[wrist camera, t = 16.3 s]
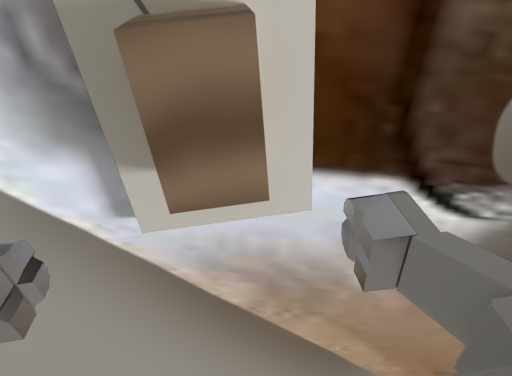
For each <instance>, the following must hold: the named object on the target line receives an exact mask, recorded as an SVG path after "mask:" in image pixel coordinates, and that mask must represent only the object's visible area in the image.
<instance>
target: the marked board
mask: <svg viewBox="0 0 512 376" xmlns="http://www.w3.org/2000/svg"><path fill="white" fill-rule="evenodd" d="M53 2H54V5H55V7H56V10H57V13H58V15H59V18H60V20H61V23H62V26H63V28H64V31H65V33H66V36H67V39H68V41H69V44H70V46H71V49H72V52H73V54H74V57H75V59H76V62H77V65H78V67H79V70H80V72H81V75H82V78H83V80H84V83H85V85H86V88H87V91H88V93H89V96H90V99H91V101H92V104H93V106H94V109H95V112H96V114H97V117H98V119H99V122H100V125H101V127H102V130H103V132H104V135H105V138H106V140H107V143H108V145H109V148H110V151H111V153H112V156H113V158H114V161H115V164H116V166H117V169H118V171H119V174H120V177H121V179H122V182H123V184H124V187H125V190H126V192H127V195H128V198H129V200H130V203H131V205H132V208H133V211H134V213H135V216H136V218H137V221H138V224H139V226H140V229H141V231H142V233H147V232H154V231H161V230H169V229H176V228H183V227H191V226H198V225H205V224H213V223H220V222H228V221H235V220H242V219H250V218H257V217H264V216H272V215H279V214H286V213H294V212H301V211H308V210H312V159H313V108H314V56H315V5H316V0H53ZM236 4H246V5H247V6H248V7H249V8H250V9H251V10H252V11H253V12H254V13H255V19H256V32H257V45H258V58H259V71H260V84H261V97H262V109H263V122H264V135H265V148H266V161H267V174H268V187H269V200H270V201H263V202H255V203H248V204H241V205H233V206H226V207H219V208H211V209H204V210H197V211H189V212H182V213H175V214H170V213H169V209H168V206H167V203H166V200H165V196H164V193H163V190H162V187H161V183H160V180H159V177H158V174H157V171H156V167H155V164H154V161H153V158H152V154H151V151H150V148H149V145H148V141H147V138H146V135H145V132H144V128H143V125H142V122H141V119H140V115H139V112H138V109H137V106H136V102H135V99H134V96H133V93H132V89H131V86H130V83H129V80H128V76H127V73H126V70H125V67H124V63H123V60H122V57H121V54H120V50H119V47H118V44H117V41H116V37H115V34H114V31H113V30H114V29H115V28H117V27H119V26H120V25H122V24H123V23H125V22H127V21H128V20H130V19H132V18H133V17H135V16H136V15H145V14H154V13H164V12H173V11H182V10H191V9H200V8H209V7H218V6H227V5H236Z"/></svg>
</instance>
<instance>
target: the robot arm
mask: <svg viewBox="0 0 512 376" xmlns="http://www.w3.org/2000/svg"><path fill="white" fill-rule="evenodd" d="M343 211H344V213H345V215H346V217H347V219H346V220H345V221H344V222H343V223H342V231H341V234H342V243H343V246H344V250H345V252H346V255H347V257H348V258H349V259H351V260H352V261H354V262H355V266H354V273H355V275H356V277H357V279H358V281H359V283H360V286H361V288H362V290H363V292H368V291H377V290H386V289H395V288H397V291H399V292H400V293H401V294H402V295H404V296H405V297H406V298H407V299H409V300H410V301H411V302H412V303H414V304H415V305H416V306H417V307H418V308H420V309H421V310H422V311H423V312H425V313H426V314H427V315H428V316H430V317H431V318H432V319H433V320H435V321H436V322H437V323H438V324H440V325H441V326H442V327H443V328H445V329H446V330H447V331H448V332H450V333H451V334H452V335H453V336H455V337H456V338H457V339H458V340H460V341H461V342H462V343H463V344H465V347H464V349H463V351H462V352H461V354H460V356H459V358H458V359H457V361H456V364H455V366H454V368H455V370H456V371H457V373H458V374H453V375H446V376H512V262H510V261H508V260H506V259H504V258H502V257H500V256H498V255H496V254H493V253H491V252H489V251H487V250H485V249H483V248H481V247H479V246H476V245H474V244H472V243H470V242H468V241H466V240H464V239H462V238H460V237H457V236H455V235H453V234H451V233H449V232H440V231H439V230H438V228H437V227H436V226H435V225H434V224H433V222H432V221H431V220H430V219H429V218H428V216H427V215H426V214H425V213H424V212H423V210H422V209H421V208H420V207H419V206H418V204H417V203H416V202H415V201H414V200H413V199H412V197H411V196H410V195H409V194H408V193H407V192H405V191H396V192H389V193H384V194H378V195H371V196H363V197H356V198H348V199H346V201H345V203H344V210H343ZM34 253H35V250H34V248H33V247H32V245H31V244H30V243H29V241H25V240H14V241H5V242H0V343H4V342H10V341H16V340H22V339H24V338H25V336H26V334H27V332H28V330H29V328H30V325H31V324H32V322H33V319H34V318H35V316H36V311H35V308H34V307H35V306H36V305H37V304H38V303H39V302H41V301H42V300H43V299H44V298H45V296H46V294H47V291H48V289H49V283H50V275H49V271H48V268H47V267H46V265H45V264H44V262H42V261H40V260H38V259H36V258H34V257H33V256H34Z"/></svg>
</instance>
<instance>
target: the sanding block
mask: <svg viewBox="0 0 512 376" xmlns="http://www.w3.org/2000/svg"><path fill="white" fill-rule="evenodd" d="M113 31H114V34H115V37H116V41H117V44H118V47H119V50H120V54H121V57H122V60H123V63H124V67H125V70H126V73H127V76H128V80H129V83H130V86H131V89H132V93H133V96H134V99H135V102H136V106H137V109H138V112H139V115H140V119H141V122H142V125H143V128H144V132H145V135H146V138H147V141H148V145H149V148H150V151H151V154H152V158H153V161H154V164H155V167H156V171H157V174H158V177H159V180H160V183H161V187H162V190H163V193H164V196H165V200H166V203H167V206H168V209H169V213H170V214H175V213H182V212H189V211H197V210H204V209H211V208H219V207H226V206H233V205H241V204H248V203H255V202H263V201H270V200H269V187H268V174H267V161H266V148H265V135H264V122H263V109H262V97H261V84H260V71H259V58H258V45H257V32H256V19H255V13H254V12H253V11H252V10H251V9H250V8H249V7H248V6H247V5H246V4H236V5H227V6H218V7H209V8H200V9H191V10H182V11H173V12H164V13H154V14H145V15H136V16H135V17H133V18H132V19H130V20H128V21H127V22H125V23H123V24H122V25H120V26H119V27H117V28H115V29H114V30H113Z"/></svg>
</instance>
